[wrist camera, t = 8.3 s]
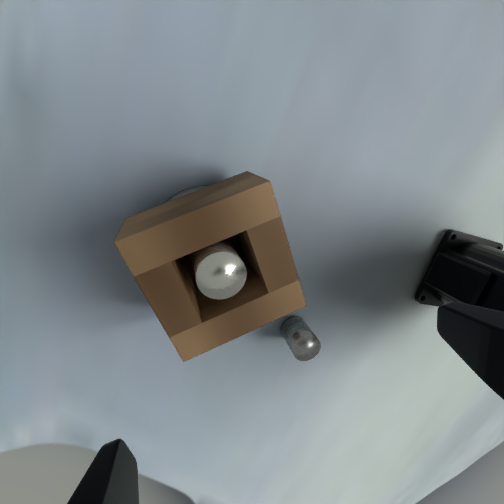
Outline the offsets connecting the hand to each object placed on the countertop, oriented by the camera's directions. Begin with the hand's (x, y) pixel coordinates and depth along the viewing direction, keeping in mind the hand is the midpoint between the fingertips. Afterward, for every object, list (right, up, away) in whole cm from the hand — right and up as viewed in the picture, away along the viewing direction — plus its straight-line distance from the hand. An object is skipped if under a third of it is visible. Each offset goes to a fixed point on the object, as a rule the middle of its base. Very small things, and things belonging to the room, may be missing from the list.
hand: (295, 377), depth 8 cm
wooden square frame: (-4, +3, +10) cm, 11 cm away
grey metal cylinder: (+2, -3, +15) cm, 15 cm away
